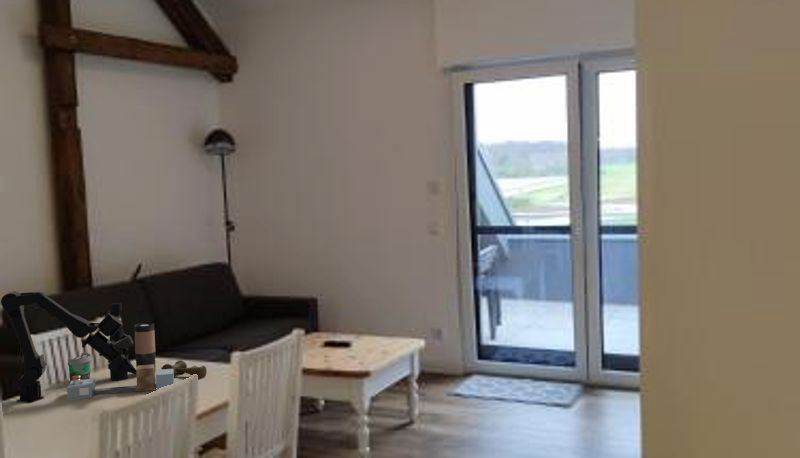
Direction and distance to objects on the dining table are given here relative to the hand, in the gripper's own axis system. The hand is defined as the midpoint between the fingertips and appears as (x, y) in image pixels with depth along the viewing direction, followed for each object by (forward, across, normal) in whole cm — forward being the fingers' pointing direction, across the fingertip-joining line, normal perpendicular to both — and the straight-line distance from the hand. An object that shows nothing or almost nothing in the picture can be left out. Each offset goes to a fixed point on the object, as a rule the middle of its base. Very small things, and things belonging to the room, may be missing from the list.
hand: (136, 372), depth 267 cm
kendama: (+16, +15, -6) cm, 23 cm away
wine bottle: (-1, +21, +10) cm, 23 cm away
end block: (+12, 0, -2) cm, 12 cm away
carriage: (+7, 0, +2) cm, 7 cm away
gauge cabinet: (-9, 0, +18) cm, 20 cm away
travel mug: (+6, +26, +4) cm, 27 cm away
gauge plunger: (-11, 0, +18) cm, 21 cm away
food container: (-10, +21, +20) cm, 31 cm away
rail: (+2, 0, +7) cm, 8 cm away
